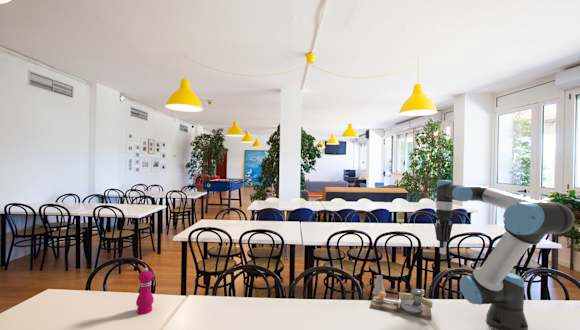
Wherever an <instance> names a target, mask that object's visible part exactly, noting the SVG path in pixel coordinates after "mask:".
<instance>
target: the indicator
mask: <svg viewBox="0 0 580 330" xmlns="http://www.w3.org/2000/svg"><path fill="white" fill-rule="evenodd" d="M385 293H386V292H385ZM385 293H384V292H383V291H380V292H379V293H378V296H379V298H381V299H380V300H381V301H386V302H391V303H394V304H397V305H398V308H400V302H401V300H402V299H399V298H398V299H399V301H395V300H390V299H385V297H386V296H385Z"/></svg>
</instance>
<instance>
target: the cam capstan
mask: <svg viewBox="0 0 580 330" xmlns="http://www.w3.org/2000/svg"><path fill="white" fill-rule="evenodd" d="M424 296H425V289H423V288H421V289H420V288H412V289H411V292H399V291H398V299H401V300H402V301H401V302H400V308H401V309H402V310H403V311H405V312H408V313H412V314H420V313H422V312H423V306H422V304H424V305H425V306H427V307H429V308H431V309H433V302H432V301H430V300H429V299H427V298H425V297H424Z"/></svg>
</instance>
